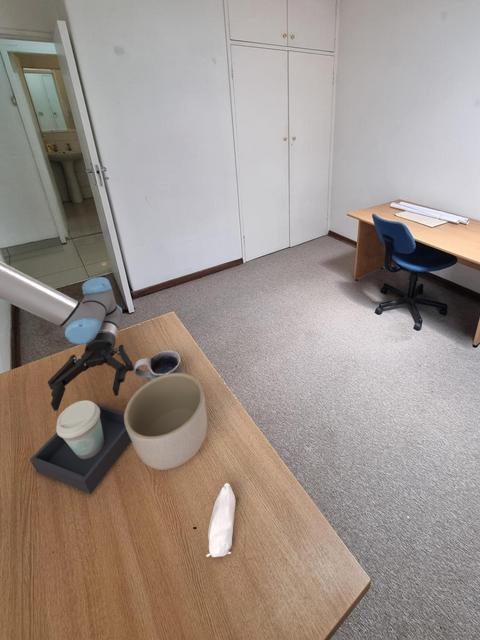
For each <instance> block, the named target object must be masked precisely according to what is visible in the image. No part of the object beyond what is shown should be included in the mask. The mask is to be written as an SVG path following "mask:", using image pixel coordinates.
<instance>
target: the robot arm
mask: <svg viewBox="0 0 480 640" xmlns="http://www.w3.org/2000/svg"><path fill="white" fill-rule="evenodd" d="M81 289H82V294H83V296H84V297H83V299H82V301H81V302H80V301H78V300H76V299H75V298H72V297H70V296H68V295H67V294H64V293H62V292H60V291H59V290H57V289H55V288H54V287H52V286H49V285H47V284H45V283H44V282H41V281H40V280H38V279H36V278H34V277H31V276H30V275H28V274H26V273H24V272H22V271H20V270H18V269H16V268H14V267H12V266H11V265H8V264H7V263H4V262H3V261H0V300H2V301H4V302H7V303H9V304H11V305H13V306H15V307H18V308H19V309H21V310H24V311H26V312H28V313H30V314H33V315H34V316H37V317H39V318H41V319H43V320H46V321H47V322H50V323H52V324H55V325H57V326H59V327H61V328H62V329H65V330H64V336H65V338H66V339H67V341H68V342H70V343H72V344H76V345H85V344H86V345H85V348H84V351H83V353H82V354H81V355H77V356H76V354H71V355H70V356H69V358H68V360H67V361H66V362H65V363H64V365H62V366H61V367H60V368H59V369H58V370H57V371H56V372H55V373H54V374H53V375H52V376H51V378H49V379H48V381H47V385H48V387H49V389H50V390H51V392H50V393H51V394H50V395H51V401H50V405H51V408H52V409H53V411H54V412H57V411H59V408H60V406H61V402H62V400H63V397H64V394H65V392H66V386H68V384H69V383H70V382H72V381H74V379H76V378H77V377H78V376H79V375H81V374H82V373H83V372H87V370H89V369H90V368H95V367H98V366H103V365H104V364H105V365H107V366H109V367H111V368H112V369H114V370H115V374H114V378H113V384H112V387H111V388H112V389H111V390H112V392H113V395H114V397H115V396H119V393H120V387H121V383H124V382H125V379H126V374H127V373H128V372H134V364H133V361H132V360H131V358H130V357H129V355H128V354H127V352H126V350H125V346H124V344H119V345H118V347H116V343H117V339H118V335H119V330H120V326H121V322H122V320H123V309H122V307H121V306H119V304H117V302H116V298H115V295H114V291H113V286H112V285H111V282H110V280H109V278H106V277H101V276H100V277H94V278H91V279H88V280H86V281H85V282H84V283H82V285H81ZM115 354H116V355H117V356H120V359H121V360H122V362H123V363H122V362H120V361H119V360H117V358H115V357H113V356H115Z"/></svg>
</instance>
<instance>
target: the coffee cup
mask: <svg viewBox="0 0 480 640" xmlns="http://www.w3.org/2000/svg"><path fill="white" fill-rule="evenodd" d="M96 404H97V403H96ZM96 404H95V402H94V401H91V400H89V399H88V400H87V399H86V400H85V399H84V400H79V401H76V402H73V403H72V404H69V406H67V407H66V408H64V410H63V411H62V412H61V413H60V414H59V415H58V417H57V420H56V426H55V430H56V433H57V434H58V435H59V436H60V437H62V438H63V439H64V440H65V441H66V443H67V444H68V445H69V446H70V448H71V449H72V450H73V451H74V452H75V454H76V455H77V456H78V457H79V458H80V459H88V458H91V457H93V456H95V455H96V454H97V453H98V452H99V451H100V450H101V449H102V447H103V445H104V436H103V431H102V426H101V421H100V416H99V415H100V409H99V407H98V406H97V405H96Z"/></svg>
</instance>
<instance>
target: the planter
mask: <svg viewBox="0 0 480 640" xmlns="http://www.w3.org/2000/svg"><path fill="white" fill-rule="evenodd" d="M206 405H207V404H206V398H205V392H204V388H203V385H202V383H201V382H200V380H198V378H196V377H195V376H193V375H191V374H188V373H184V372H181V373H170V374H165V375H162V376H159V377H157V378H155V379H153V380H151V381H150V380H149V381H147V382H146V383H144V384H143V385H142V386H140V388H138V389H137V390H136V391H135V392H134V393H133V395H132V396H131V397H130V399H129V400H128V402H127V404H126V406H125V409H124V423H125V426H126V429H127V432H128V434H129V436H130V439H131V443H132V446H133V448H134V450H135V452H136V454H137V456H138V457H139V459H140V460H141V462H142V463H144V464H145V465H146V466H147V467H149V468H151V469H153V470H158V471H166V470H167V471H169V470H173V469H176V468H178V467H181V466H183V465H184V464H187V462H189V461H190V460H191V459H193V457H194V456H195V455H196V454H197V453H198V452H199V450H200V449H201V447H202V446H203V443H204V442H205V439H206V435H207V432H208V411H207V406H206Z"/></svg>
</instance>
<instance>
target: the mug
mask: <svg viewBox="0 0 480 640" xmlns="http://www.w3.org/2000/svg"><path fill="white" fill-rule="evenodd" d="M181 358H182V357H181V355H180V353H179V352H177V351H175V350H169V349H168V350H163V351H160V352H159V351H158V353H156V354H153V355H152V356H150V357H148V358H147V357H146V358H145V357H144V358H140V359H138V360H137V361H136V362H135V363H134V364H133V367H134V370H133V373H134V374H135V375H136V376H138V377H141V378H146V379H149V381H151V380H153V379H155V378H157V377H159V376H162V375H165V374H170V373H182V363H181V362H182V359H181ZM142 366H143V367H144V366H145V367H146V368H147V370H143V369H140V367H142Z"/></svg>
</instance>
